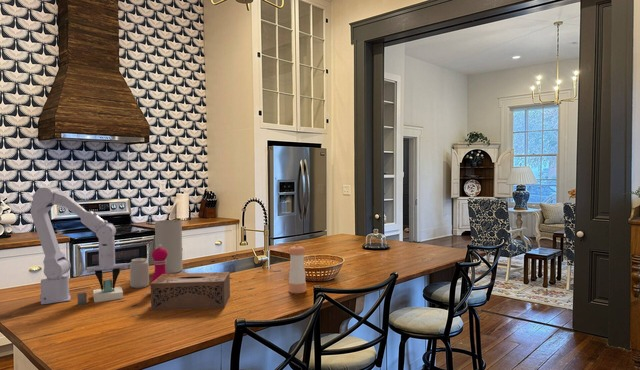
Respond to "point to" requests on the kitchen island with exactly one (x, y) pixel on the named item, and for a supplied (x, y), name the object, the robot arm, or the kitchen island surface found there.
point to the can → (139, 273)
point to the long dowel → (107, 285)
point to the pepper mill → (159, 261)
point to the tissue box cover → (190, 291)
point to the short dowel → (82, 298)
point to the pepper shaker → (297, 270)
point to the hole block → (107, 294)
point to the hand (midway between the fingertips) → (107, 288)
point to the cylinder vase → (170, 243)
